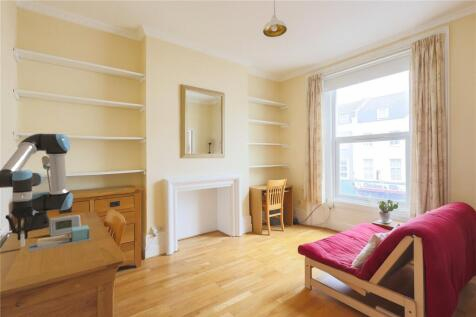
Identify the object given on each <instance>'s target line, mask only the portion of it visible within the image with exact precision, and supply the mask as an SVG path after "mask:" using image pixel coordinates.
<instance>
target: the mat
mask: <svg viewBox="0 0 476 317" xmlns="http://www.w3.org/2000/svg"><path fill="white" fill-rule="evenodd" d="M90 240H92V239H91V237H90V236H89V239H85V240H80V241H74V242H72V238H71V237H70V241H68V242H62V243H57V244H52V245H46V246H41V247H37V243H32V244H29V245H28V249H27V252H33V251H40V250H43V249H49V248H54V247H55V248H56V247H60V246H65V245H71V244H76V243H77V244H78V243H82V242H88V241H90Z"/></svg>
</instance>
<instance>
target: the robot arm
mask: <svg viewBox="0 0 476 317" xmlns="http://www.w3.org/2000/svg"><path fill="white" fill-rule="evenodd" d="M70 149H71V143H70V140H69V137H68V136H67V135H66V134H61V133H35V134H31V135H29V136H28V137H25V138H23V140H22V141H20V142H19V144H18V145H17V149H16V150H15V152H14V153H12V155H11V156H10V158H9V159H8V160H7V161H6V163H5V164H4V165H3V166H2V168H1V169H0V189H3V188H5V189H6V188H12V197H11V198H12V209H11V211H10V213H9V214H6V215H5V216H4V217H5V219H6V220H7V221H8V224H9V227H10V230H11V233H12V234H17V241H20V247H21V248H22V247H25V245H26V240H27V239H28V238H29V236H28V235H29V233H30V232H32V231H33V230H38V229H42V228H47V227H49V220H50V218H49V215H48V212H52V211H64V210H69V209H70V208H71V207H72V204H73V201H74V195H73V193H72V192H70V190H69V189H68V187H67V174H66V173H67V172H66V157H65V156H66V155H67V154H68V152H70ZM41 151H42V152H45V154H46V155H47V156H48V158H49V160H48V162H49V173H50V174H49V175H50V176H49V177H50V186H51V188H50V191H49V192H47V191H44V192H36V193H33V187H38V186H40V185H41V184H42V183H43V182H44V176H43V175H42V174H41V173H39V172H33V171H32V170H30V169H26V170H25V169H23V168H25V165H26V164H27V163H28V161H29V159H30V158H31V157H32V155H35V154H36V153H37V152H41ZM13 216H14V217H15V219H17V224H16V225H17V229H16V226H15V223H14V220H13ZM22 219H23V222H22ZM22 230H24V232H22Z"/></svg>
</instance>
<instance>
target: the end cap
mask: <svg viewBox="0 0 476 317" xmlns="http://www.w3.org/2000/svg"><path fill="white" fill-rule="evenodd" d="M89 237H90V227H89V226H88V224H86V225H81V226H78V227H72V228H71V233H70V238H72V242H74V241H80V240H85V239H89Z"/></svg>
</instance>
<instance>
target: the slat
mask: <svg viewBox="0 0 476 317" xmlns="http://www.w3.org/2000/svg"><path fill="white" fill-rule="evenodd" d="M70 238H71V233H68V234H63V235H58V236H52V237H50V236H49V237H45V238H38V239H37V241H36V244H37V247H41V246H46V245H52V244H57V243H62V242H68V241H70Z"/></svg>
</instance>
